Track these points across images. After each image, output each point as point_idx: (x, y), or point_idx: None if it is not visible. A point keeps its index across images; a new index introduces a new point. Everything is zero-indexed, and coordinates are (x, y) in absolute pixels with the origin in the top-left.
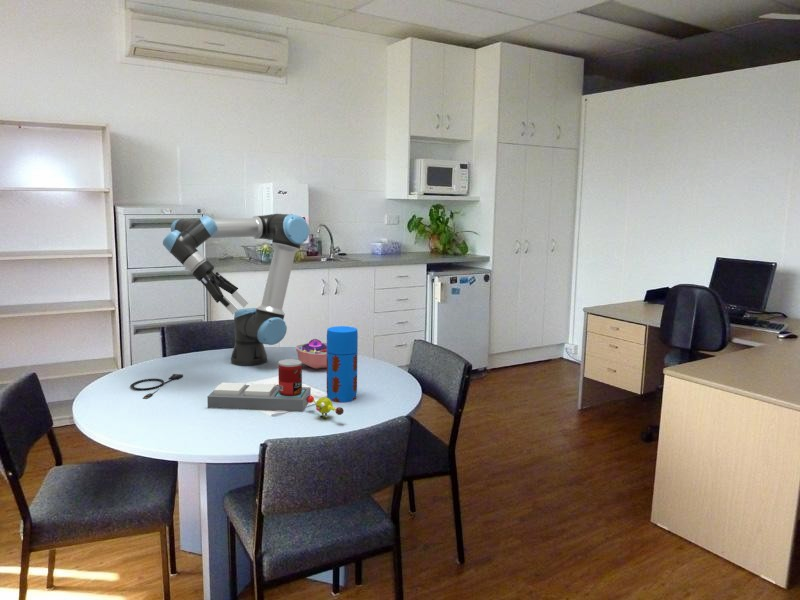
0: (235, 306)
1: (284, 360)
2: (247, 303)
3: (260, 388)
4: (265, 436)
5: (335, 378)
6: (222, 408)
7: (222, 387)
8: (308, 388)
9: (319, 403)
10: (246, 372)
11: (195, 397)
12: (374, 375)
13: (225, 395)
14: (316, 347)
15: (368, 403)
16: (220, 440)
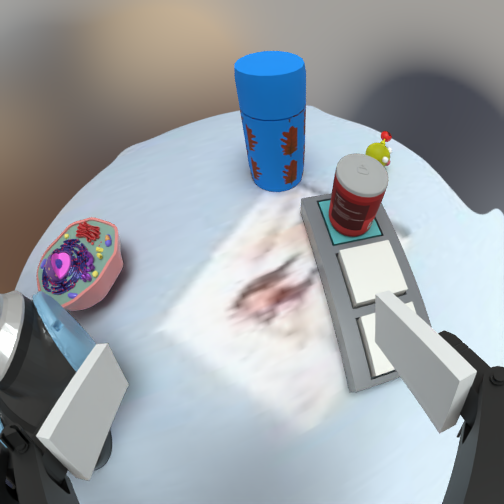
0: (395, 305)
1: (355, 187)
2: (109, 352)
3: (379, 266)
4: (465, 212)
5: (304, 142)
6: None
7: None
8: (309, 199)
9: (389, 154)
10: (156, 417)
11: (381, 432)
12: (144, 173)
13: None
14: (72, 258)
15: None
16: (500, 256)
